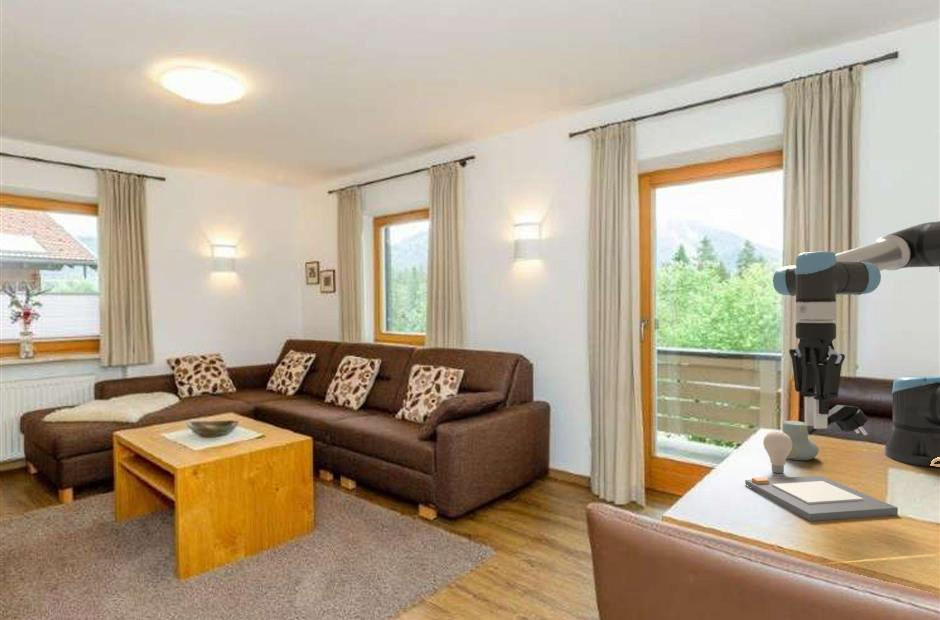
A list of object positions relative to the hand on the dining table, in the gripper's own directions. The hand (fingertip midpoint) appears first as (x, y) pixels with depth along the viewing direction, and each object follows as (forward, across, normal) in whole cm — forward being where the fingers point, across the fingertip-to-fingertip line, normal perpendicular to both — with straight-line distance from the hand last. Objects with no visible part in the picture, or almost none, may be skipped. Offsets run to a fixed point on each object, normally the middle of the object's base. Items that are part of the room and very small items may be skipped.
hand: (815, 426), depth 116 cm
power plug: (+4, 0, 0) cm, 4 cm away
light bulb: (+17, -17, +4) cm, 24 cm away
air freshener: (+17, -28, +18) cm, 37 cm away
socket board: (+16, 0, 0) cm, 16 cm away
